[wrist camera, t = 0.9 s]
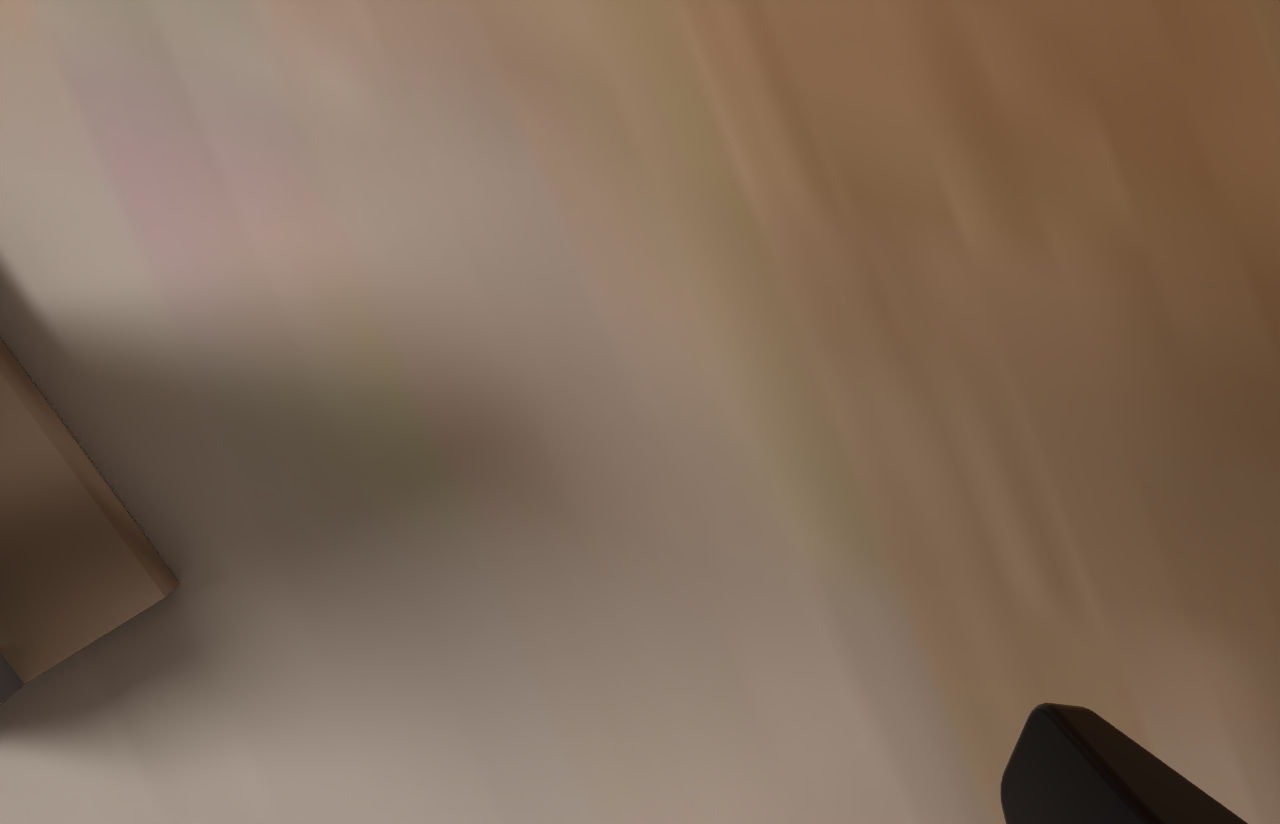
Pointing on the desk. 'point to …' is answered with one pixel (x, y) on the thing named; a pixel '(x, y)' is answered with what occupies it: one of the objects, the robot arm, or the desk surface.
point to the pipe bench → (60, 541)
